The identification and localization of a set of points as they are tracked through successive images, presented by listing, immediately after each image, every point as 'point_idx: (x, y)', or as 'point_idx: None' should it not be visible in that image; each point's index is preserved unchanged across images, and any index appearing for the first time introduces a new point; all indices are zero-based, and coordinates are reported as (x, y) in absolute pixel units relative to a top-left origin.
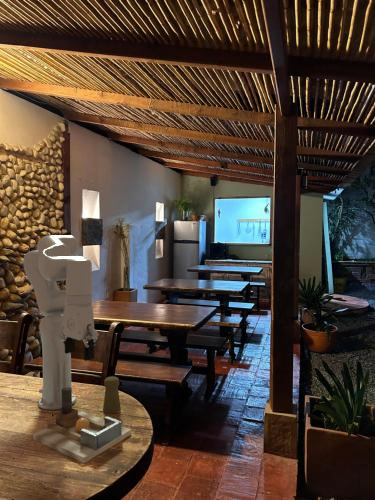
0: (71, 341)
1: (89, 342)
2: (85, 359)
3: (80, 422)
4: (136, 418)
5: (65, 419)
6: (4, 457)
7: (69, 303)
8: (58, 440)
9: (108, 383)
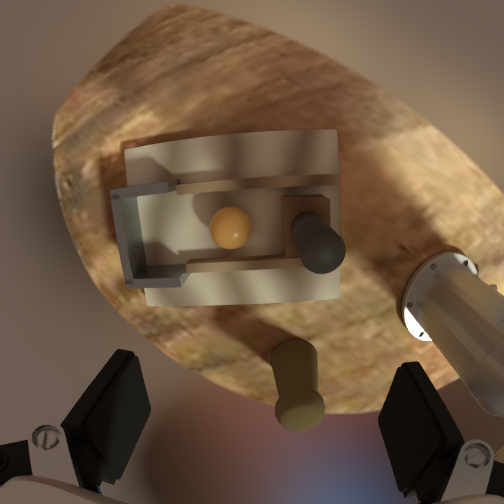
0: (410, 468)
1: (22, 460)
2: (116, 355)
3: (220, 218)
4: (205, 358)
5: (283, 203)
6: (304, 45)
7: None
8: (244, 150)
9: (292, 399)
